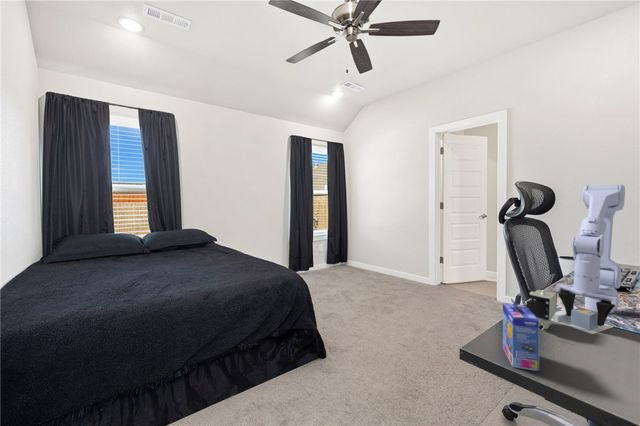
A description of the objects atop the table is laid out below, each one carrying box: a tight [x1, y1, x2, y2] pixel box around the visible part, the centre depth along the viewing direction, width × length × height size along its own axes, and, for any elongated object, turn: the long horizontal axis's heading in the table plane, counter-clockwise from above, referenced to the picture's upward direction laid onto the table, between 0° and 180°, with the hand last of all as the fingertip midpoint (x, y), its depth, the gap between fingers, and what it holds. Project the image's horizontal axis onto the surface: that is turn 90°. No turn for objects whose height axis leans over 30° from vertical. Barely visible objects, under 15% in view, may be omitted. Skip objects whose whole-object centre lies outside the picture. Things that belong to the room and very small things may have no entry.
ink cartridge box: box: [502, 298, 540, 372], centre depth 72 cm, size 10×6×14 cm, turn 161°
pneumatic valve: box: [526, 288, 558, 331], centre depth 88 cm, size 6×12×12 cm, turn 130°
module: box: [571, 307, 598, 330], centre depth 88 cm, size 5×4×5 cm
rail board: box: [550, 307, 615, 335], centre depth 90 cm, size 12×11×3 cm
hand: (584, 320), depth 88 cm, fingers open, 7 cm apart
